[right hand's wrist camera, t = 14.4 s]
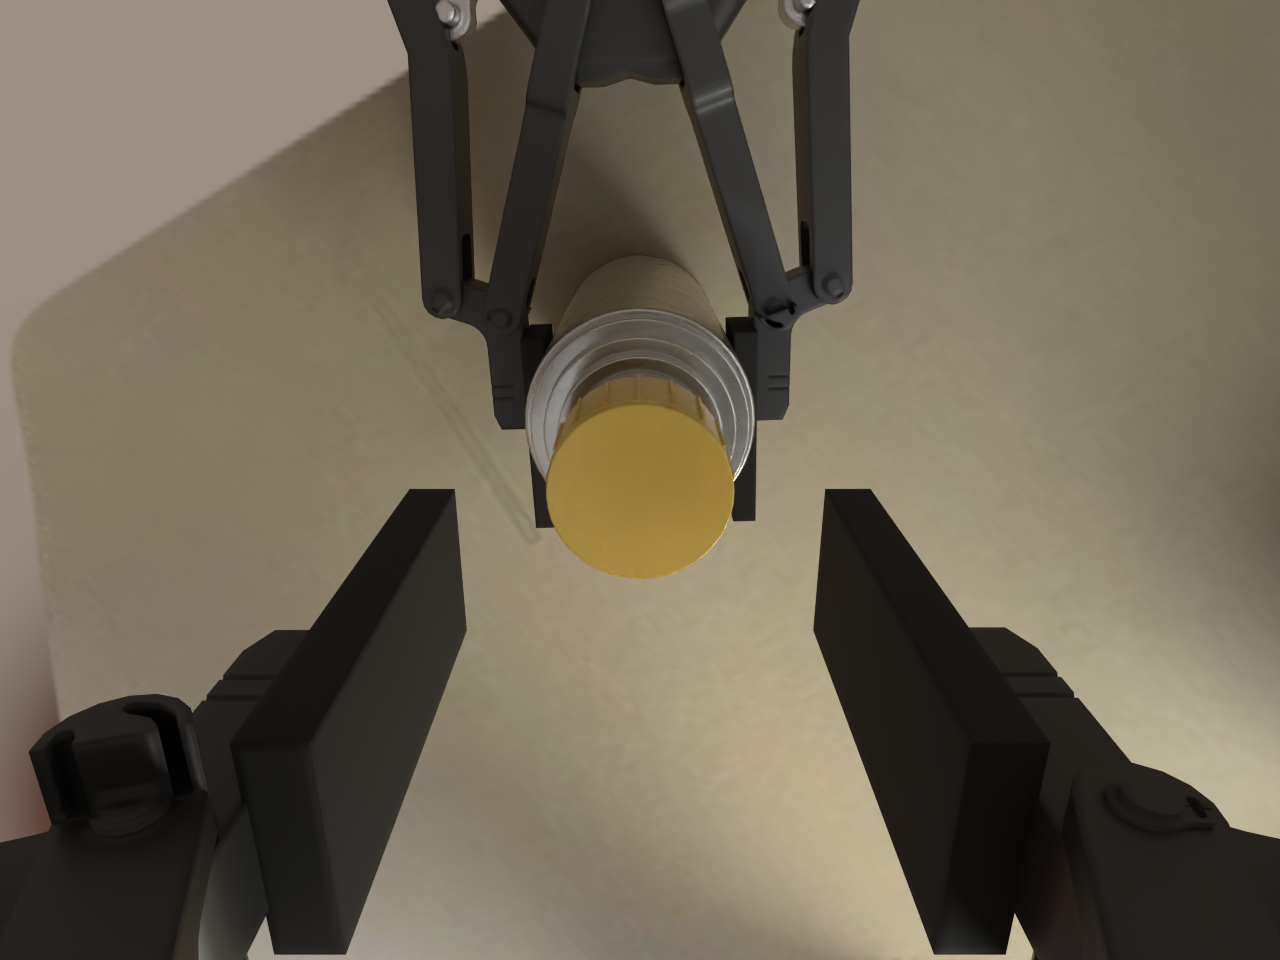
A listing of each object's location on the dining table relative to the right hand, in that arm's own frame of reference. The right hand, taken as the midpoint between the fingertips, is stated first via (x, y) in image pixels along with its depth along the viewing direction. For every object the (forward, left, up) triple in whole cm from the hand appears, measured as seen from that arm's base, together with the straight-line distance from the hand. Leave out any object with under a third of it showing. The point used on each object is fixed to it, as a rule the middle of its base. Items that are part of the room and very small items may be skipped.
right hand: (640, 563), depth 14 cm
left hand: (0, +5, -15) cm, 15 cm away
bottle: (0, 0, -21) cm, 21 cm away
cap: (0, 0, -3) cm, 3 cm away
